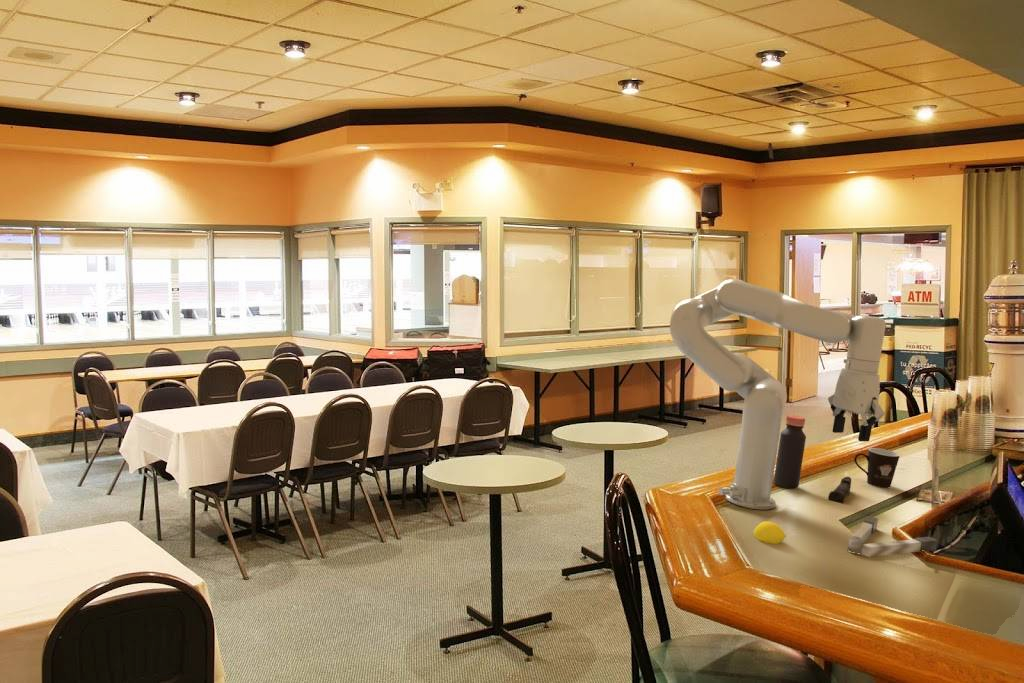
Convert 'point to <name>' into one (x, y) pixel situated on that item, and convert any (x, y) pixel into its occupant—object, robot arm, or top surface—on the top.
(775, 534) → the lemon
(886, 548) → the tongs board
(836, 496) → the hand tool
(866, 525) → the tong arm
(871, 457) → the coffee mug
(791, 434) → the bottle
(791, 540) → the top surface
